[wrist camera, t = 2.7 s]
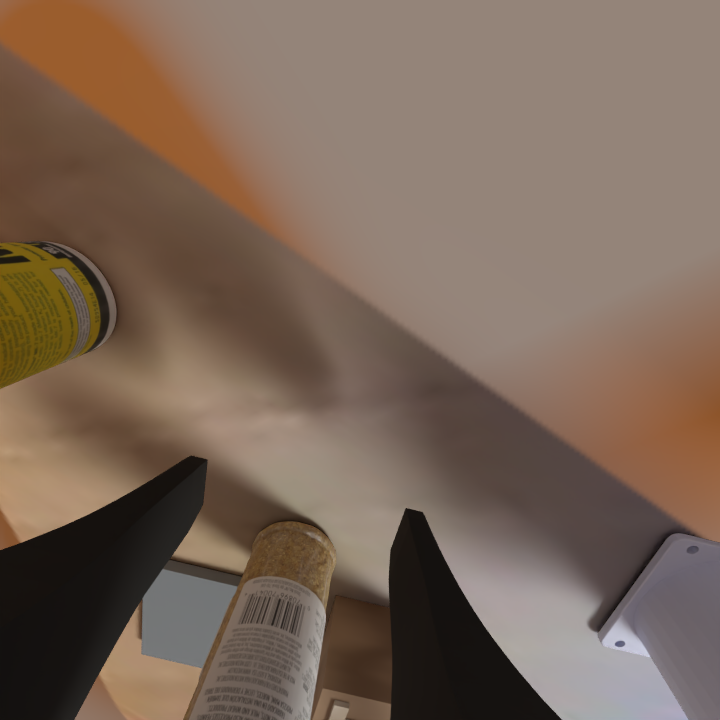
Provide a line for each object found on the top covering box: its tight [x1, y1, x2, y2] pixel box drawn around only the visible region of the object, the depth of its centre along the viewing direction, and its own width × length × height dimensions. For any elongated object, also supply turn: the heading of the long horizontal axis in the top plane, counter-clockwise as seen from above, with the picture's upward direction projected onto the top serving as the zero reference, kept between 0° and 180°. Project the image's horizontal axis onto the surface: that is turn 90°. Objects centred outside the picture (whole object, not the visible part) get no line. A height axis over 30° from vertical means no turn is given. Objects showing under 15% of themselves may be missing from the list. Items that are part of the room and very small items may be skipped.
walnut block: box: [310, 595, 392, 720], centre depth 19 cm, size 4×4×5 cm
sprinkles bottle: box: [183, 521, 336, 720], centre depth 13 cm, size 5×5×13 cm
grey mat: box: [142, 560, 242, 668], centre depth 22 cm, size 8×8×1 cm
